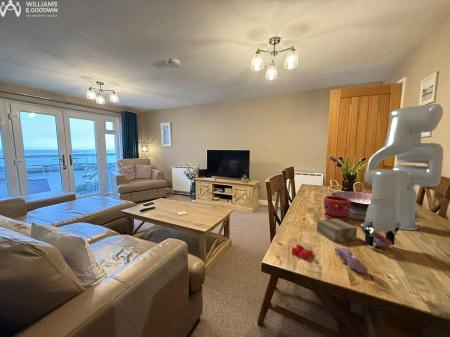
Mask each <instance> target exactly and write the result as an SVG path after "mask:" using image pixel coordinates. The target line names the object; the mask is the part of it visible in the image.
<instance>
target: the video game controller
mask: <svg viewBox="0 0 450 337" xmlns="http://www.w3.org/2000/svg"><path fill="white" fill-rule="evenodd" d="M333 250H334V254H335V256H338V257H339V258H340V260H341V262H343V264H346V265H347V267H348V268H349V269H351V270H356V271H357V272H359V273H361V274H367V273H368V271H369V270H368V267H367V266H366V265H364V264H363V263H362V262H361V261H360V260H359V259H358V257H356V255H354V253H352V251H351V250H350V249H347V248H344V247H343V246H341V245H340V246H337V247H335V248H334V249H333Z"/></svg>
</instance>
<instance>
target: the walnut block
mask: <svg viewBox="0 0 450 337" xmlns="http://www.w3.org/2000/svg"><path fill="white" fill-rule="evenodd" d="M357 230H358V227H356V226H354V225H352V224H349V223H348V222H345V221H341V220H339V219H329V218H327V219H318V220H317V222H316V233H317V234H319V235H321V236H323V238H326V239H328V240H329V241H330V242H333V243H334V244H336V243H337V244H338V243H343V242H352V241H356V240H357Z"/></svg>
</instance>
